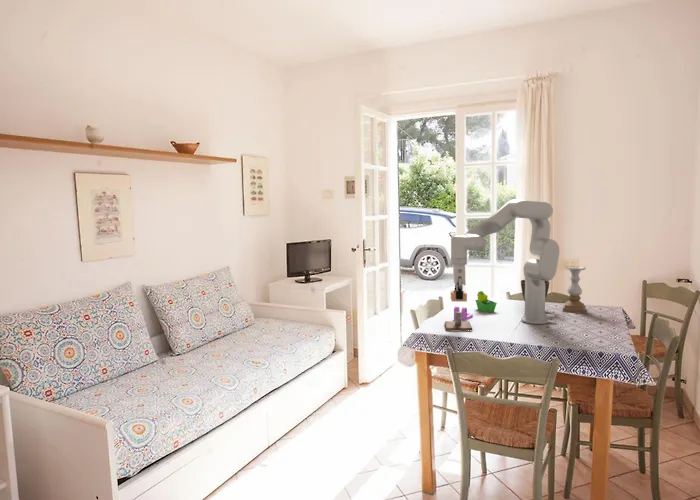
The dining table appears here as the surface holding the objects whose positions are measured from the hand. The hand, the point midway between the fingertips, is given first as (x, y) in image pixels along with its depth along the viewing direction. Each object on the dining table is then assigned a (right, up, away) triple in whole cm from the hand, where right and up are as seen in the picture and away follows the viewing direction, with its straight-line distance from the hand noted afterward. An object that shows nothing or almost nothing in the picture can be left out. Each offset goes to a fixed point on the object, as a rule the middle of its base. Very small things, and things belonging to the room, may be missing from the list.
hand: (458, 297), depth 237 cm
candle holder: (+70, -10, +31) cm, 78 cm away
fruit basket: (+22, -11, +35) cm, 43 cm away
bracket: (+7, -13, +20) cm, 25 cm away
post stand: (0, -15, +2) cm, 15 cm away
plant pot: (+49, -10, +34) cm, 61 cm away
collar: (0, -1, 0) cm, 1 cm away
